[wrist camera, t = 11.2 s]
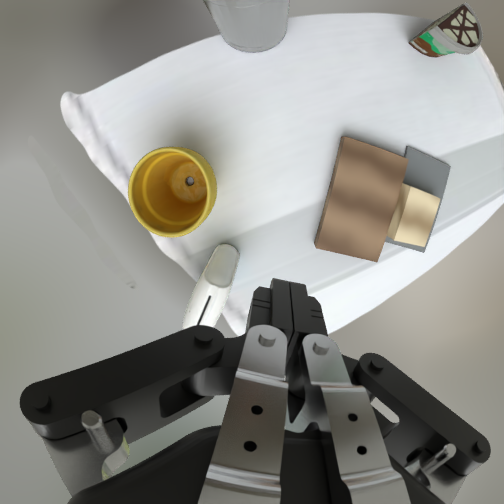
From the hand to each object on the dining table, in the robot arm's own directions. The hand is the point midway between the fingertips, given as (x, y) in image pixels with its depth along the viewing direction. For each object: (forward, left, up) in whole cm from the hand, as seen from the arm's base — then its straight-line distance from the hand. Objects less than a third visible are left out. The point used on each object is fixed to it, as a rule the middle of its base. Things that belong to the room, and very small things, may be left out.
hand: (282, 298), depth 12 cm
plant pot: (+1, -12, -27) cm, 30 cm away
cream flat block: (-2, +20, -26) cm, 33 cm away
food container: (-32, +20, -27) cm, 47 cm away
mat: (-4, +22, -27) cm, 35 cm away
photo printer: (+14, -6, -27) cm, 31 cm away
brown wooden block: (-2, +12, -27) cm, 30 cm away
